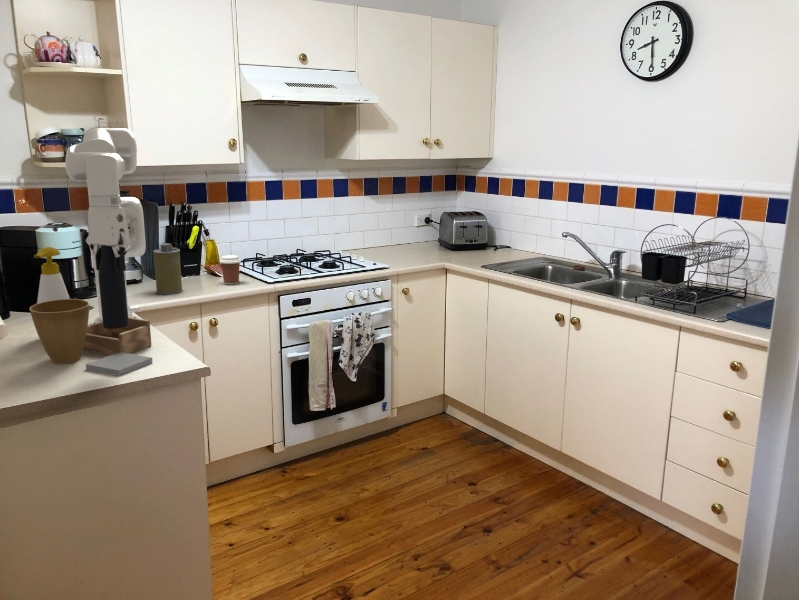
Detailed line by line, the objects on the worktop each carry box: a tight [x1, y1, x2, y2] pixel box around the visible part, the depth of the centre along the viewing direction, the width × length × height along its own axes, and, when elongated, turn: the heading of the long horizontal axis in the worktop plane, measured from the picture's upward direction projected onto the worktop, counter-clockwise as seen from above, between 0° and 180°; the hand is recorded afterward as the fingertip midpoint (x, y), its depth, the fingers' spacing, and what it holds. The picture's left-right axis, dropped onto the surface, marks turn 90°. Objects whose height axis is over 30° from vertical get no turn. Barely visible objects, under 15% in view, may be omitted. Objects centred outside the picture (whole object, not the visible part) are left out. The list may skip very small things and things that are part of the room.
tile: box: [85, 352, 154, 376], centre depth 182 cm, size 12×12×2 cm
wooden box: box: [83, 317, 152, 356], centre depth 197 cm, size 12×16×8 cm
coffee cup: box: [219, 254, 242, 285], centre depth 290 cm, size 9×9×12 cm
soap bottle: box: [33, 246, 71, 304], centre depth 202 cm, size 13×10×29 cm
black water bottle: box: [98, 245, 129, 329], centre depth 176 cm, size 6×6×30 cm
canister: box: [152, 242, 184, 295], centre depth 272 cm, size 11×10×20 cm
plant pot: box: [29, 298, 90, 364], centre depth 185 cm, size 15×15×16 cm
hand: (111, 269), depth 176 cm, fingers closed on black water bottle, 5 cm apart
